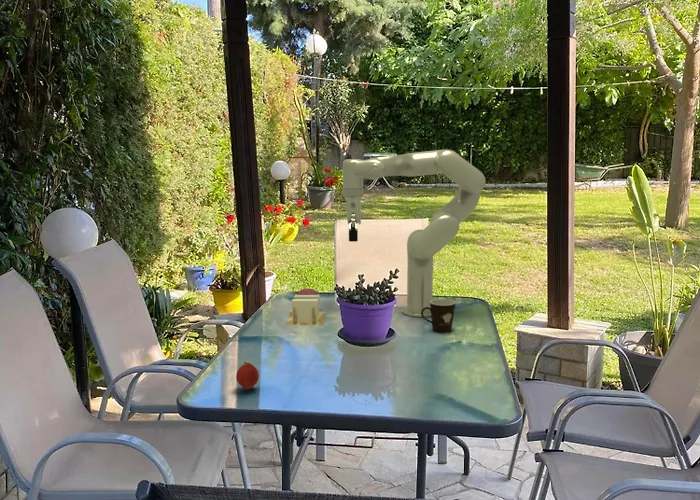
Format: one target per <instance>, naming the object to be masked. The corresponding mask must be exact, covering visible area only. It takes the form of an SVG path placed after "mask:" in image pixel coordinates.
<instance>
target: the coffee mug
mask: <svg viewBox="0 0 700 500" xmlns="http://www.w3.org/2000/svg"><path fill="white" fill-rule="evenodd" d="M430 307H431V308H429V307H425V308H423V309H422V311H421V315H422V317H421V318H423V319H424V320H425V321H427V322H429V323H430V324H431V325H432V332H434V333H437V334H448V333H451V332H452V329H453V322H454V315H455V308H456V301H454V300H452V299H448V298H447V299H446V298H445V299H444V298H437V299H432V300H431V301H430ZM425 309H429V310H430V311H431V316H430V317H431V320H429V319H428V318H427V317H424V316H423V311H424V310H425Z"/></svg>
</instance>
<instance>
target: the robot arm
mask: <svg viewBox="0 0 700 500" xmlns="http://www.w3.org/2000/svg"><path fill="white" fill-rule="evenodd" d="M436 174H437V175H439V174H443V175H444V176H446V177H447V178H448V179H449V180H451V181H452V182H454V183H455V184H456V185H457V186H458V188H457V189H458V190H457V192H456V194H455V195H454V197H453V198H451V199H450V200H449V202H447V203H446V204H445V205H444V206H443V207H442V208H441V209H440V210H438V211H437V212H436V213H434V214H433V216H432V217H431V218H430V221H429V224H428V225H427V226H426V227H425V228H424V229H415V230H413V231H412V232H411V233H410V234H409V236H408V237H407V240H406V241H407V242H406V250H407V252H406V254H407V270H406V271H407V272H406V273H407V278H406V279H407V281H406V285H407V286H406V306H405V307H404V308H403V309H402V313H403V314H404V315H406V316H410V317H414V318H415V317H416V318H417V317H418V318H423V317H422V315H421V311H422V309H423V308H425V307H429V308H431V307H430V301H431V300H433V290H434V289H433V287H434V286H433V282H434V281H433V278H434V256H435V255H436V254H437V253H438V252H440V251H441V250H443V248H444V247H445V246H447V245H448V244H449V243H451V241H452V240H453V239H455V237H456V236H457V234H458V233H459V231H460V230H459V229H460V224H461V223H463V221H465V219H467V217H469V216H470V215H471V214H472V212H473V211H474V210H475V209H476V207H477V206H478V204H479V202H480V198H481V192H482V190H484V188H485V187H486V186H485V185H486V177H485V176H484V173H483V172H481V170H479V169H478V168H477V167H475V166H474V165H473V164H472V163H470V162H468V161H467V160H466V159H465V158H464V157H462V156H461V155H459V154H458V153H457V152H456V151H454V150H452V149H439V150H438V149H436V150H428V151H417V152H416V151H415V152H408V153H404V154H398V155H389V156H378V157H377V156H376V157H370V158H368V159H359V158H358V159H357V158H348V159H344V160H343V162H342V198H345V201H346V202H345V204H346V205H345V207H346V208H345V209H346V221H347V224H348V241H349V242H355V243H356V242H358V239H359V238H358V237H359V236H358V233H359V232H358V225H361V224H362V219H361V218H362V214H361V213H362V202H361V199H363V198H364V179H365V180H372V181H373V180H374V181H375V180H379V179H381V178H385V177H399V176H402V177H418V176H419V177H420V176H421V177H422V176H429V175H436ZM423 316H424V317H425V318H427V317H431V311H430V310H429V309H425V310H424V311H423Z"/></svg>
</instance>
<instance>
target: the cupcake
mask: <svg viewBox="0 0 700 500" xmlns="http://www.w3.org/2000/svg"><path fill="white" fill-rule="evenodd" d="M301 277H302V278H301V279H302V280H301V281H302V286H303V288H302V289H300V290H298V291H297V293H296V294H295V295H319V292H318V291H317V290H315V288H314V289H313V288H310V287H309V288H306V284H305V277H303V275H302V276H301Z"/></svg>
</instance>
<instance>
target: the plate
mask: <svg viewBox="0 0 700 500" xmlns="http://www.w3.org/2000/svg"><path fill="white" fill-rule="evenodd" d="M293 299H318V315H319V314H320V312H321V310H320V308H321V307H320V306H321V305H320V304H321V303H320V294H318V295H296V294H294V297H293Z"/></svg>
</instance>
